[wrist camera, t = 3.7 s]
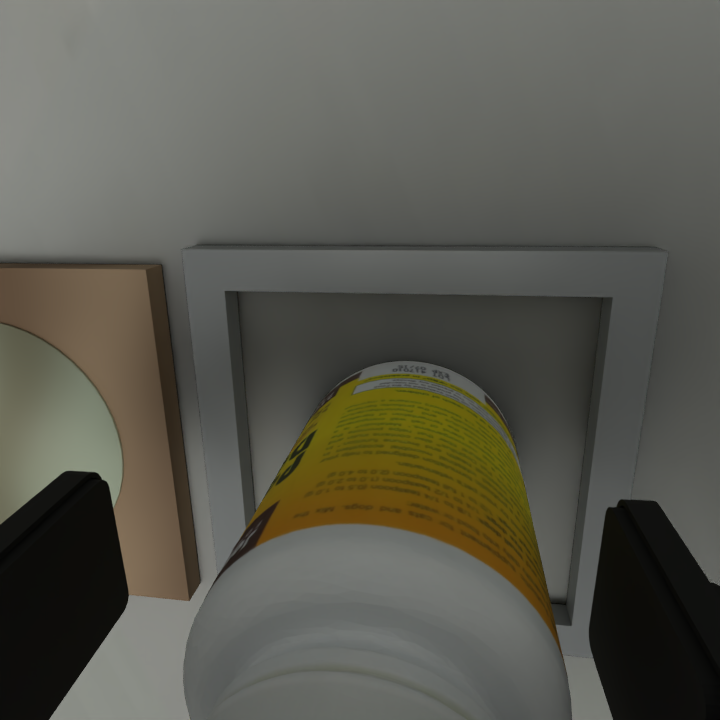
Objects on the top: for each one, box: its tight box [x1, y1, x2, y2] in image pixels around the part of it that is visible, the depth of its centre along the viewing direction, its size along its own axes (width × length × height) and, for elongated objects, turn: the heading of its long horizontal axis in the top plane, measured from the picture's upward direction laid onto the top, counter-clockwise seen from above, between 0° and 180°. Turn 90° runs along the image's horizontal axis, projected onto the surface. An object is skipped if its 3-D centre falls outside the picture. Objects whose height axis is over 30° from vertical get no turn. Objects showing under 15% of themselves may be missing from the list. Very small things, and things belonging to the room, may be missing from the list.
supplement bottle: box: [183, 361, 572, 720], centre depth 11 cm, size 6×6×10 cm
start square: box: [181, 245, 668, 658], centre depth 15 cm, size 11×11×1 cm
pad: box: [0, 263, 200, 601], centre depth 17 cm, size 10×10×1 cm
